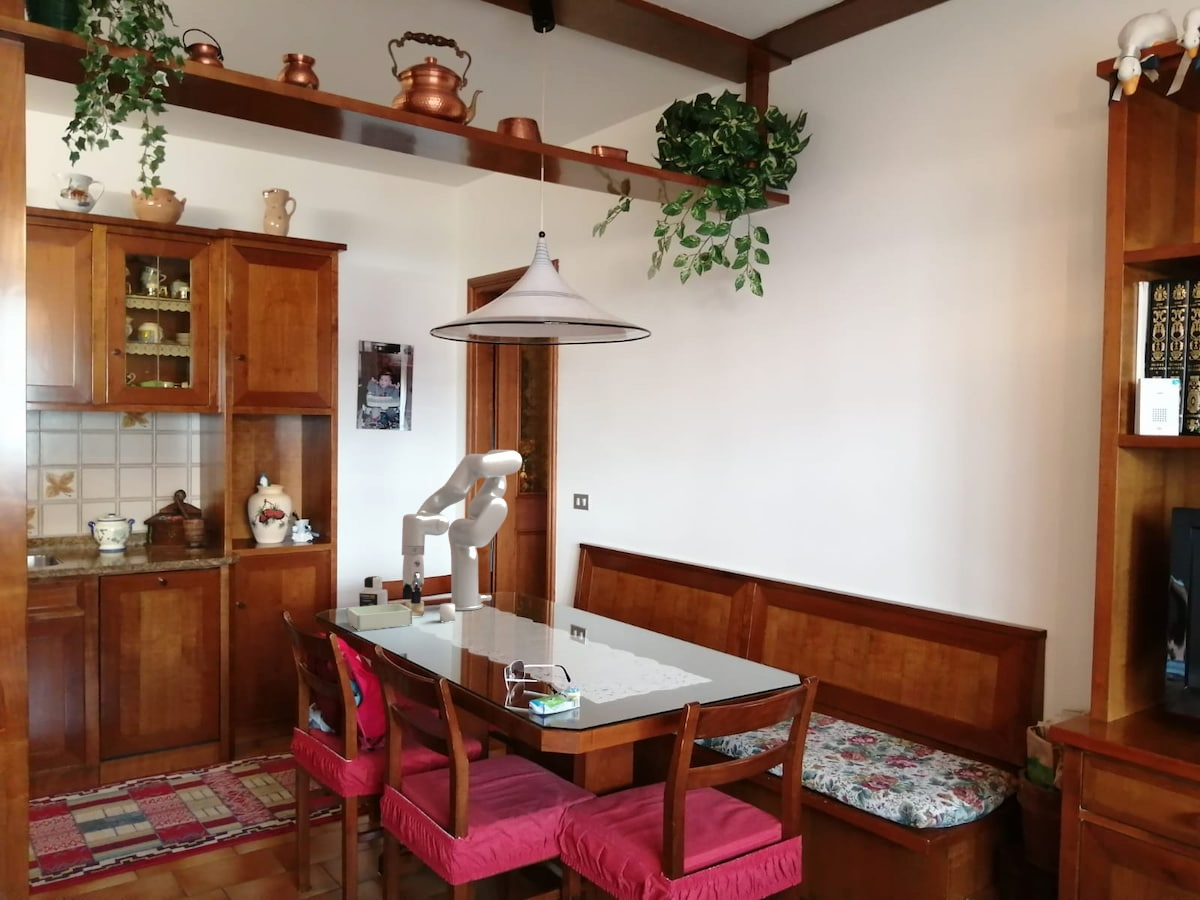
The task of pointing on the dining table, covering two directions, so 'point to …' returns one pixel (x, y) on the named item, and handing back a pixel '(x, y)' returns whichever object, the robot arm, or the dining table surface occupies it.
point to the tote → (379, 616)
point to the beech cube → (415, 608)
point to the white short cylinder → (447, 612)
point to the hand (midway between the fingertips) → (411, 601)
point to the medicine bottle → (373, 592)
